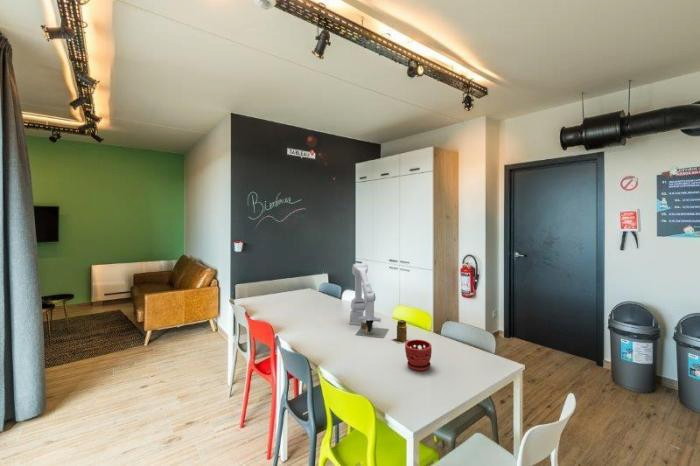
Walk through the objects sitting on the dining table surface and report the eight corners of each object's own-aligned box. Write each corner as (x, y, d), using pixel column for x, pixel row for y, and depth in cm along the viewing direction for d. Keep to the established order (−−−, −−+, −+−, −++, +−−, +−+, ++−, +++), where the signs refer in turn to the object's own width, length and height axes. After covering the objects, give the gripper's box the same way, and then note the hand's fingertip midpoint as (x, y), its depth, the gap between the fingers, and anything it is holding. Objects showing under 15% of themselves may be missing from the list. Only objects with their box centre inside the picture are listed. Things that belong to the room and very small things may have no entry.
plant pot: (412, 359, 173) (412, 337, 173) (435, 366, 165) (435, 343, 164) (400, 367, 163) (400, 344, 163) (424, 375, 155) (424, 351, 154)
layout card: (355, 335, 209) (355, 334, 209) (362, 326, 225) (362, 326, 225) (383, 338, 203) (383, 337, 203) (388, 329, 219) (388, 328, 219)
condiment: (409, 340, 199) (409, 321, 198) (399, 343, 194) (399, 324, 194) (401, 337, 205) (401, 318, 204) (391, 340, 200) (391, 321, 200)
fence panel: (369, 329, 217) (369, 324, 217) (371, 329, 217) (371, 324, 217) (365, 334, 209) (365, 328, 209) (367, 334, 209) (367, 328, 208)
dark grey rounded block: (360, 328, 220) (360, 321, 219) (361, 328, 222) (361, 320, 221) (372, 330, 217) (372, 322, 217) (372, 329, 219) (372, 321, 219)
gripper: (357, 311, 208) (357, 332, 209) (379, 313, 204) (379, 334, 205) (360, 309, 215) (360, 329, 216) (381, 310, 211) (381, 331, 211)
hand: (369, 331), depth 211 cm, fingers closed
